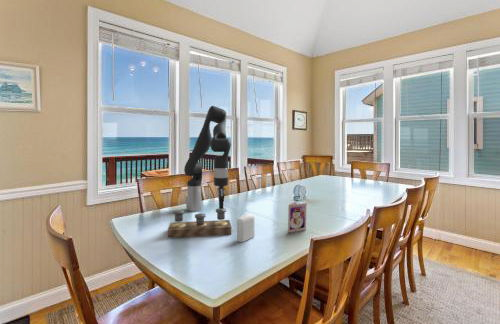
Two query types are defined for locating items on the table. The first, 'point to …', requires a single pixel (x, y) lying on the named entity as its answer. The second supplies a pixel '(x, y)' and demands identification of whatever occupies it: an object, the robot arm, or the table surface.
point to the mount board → (199, 229)
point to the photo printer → (245, 227)
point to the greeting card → (297, 217)
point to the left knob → (178, 215)
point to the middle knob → (200, 219)
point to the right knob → (221, 213)
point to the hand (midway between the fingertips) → (221, 208)
